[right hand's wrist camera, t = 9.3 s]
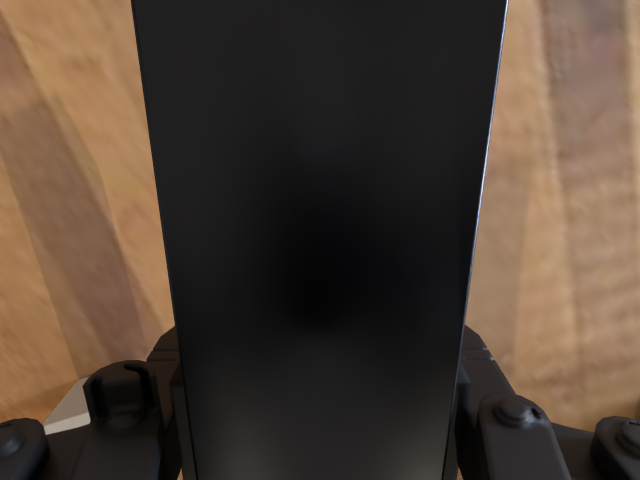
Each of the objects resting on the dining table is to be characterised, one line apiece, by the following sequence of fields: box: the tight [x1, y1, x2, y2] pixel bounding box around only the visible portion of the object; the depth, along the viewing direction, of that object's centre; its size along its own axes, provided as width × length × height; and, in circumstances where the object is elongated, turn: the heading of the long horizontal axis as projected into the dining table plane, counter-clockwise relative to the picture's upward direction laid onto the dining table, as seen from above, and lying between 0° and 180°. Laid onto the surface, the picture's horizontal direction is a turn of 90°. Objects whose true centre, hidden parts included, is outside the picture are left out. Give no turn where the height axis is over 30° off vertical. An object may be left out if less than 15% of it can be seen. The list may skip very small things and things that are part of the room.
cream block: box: [42, 376, 91, 435], centre depth 32 cm, size 5×5×5 cm
